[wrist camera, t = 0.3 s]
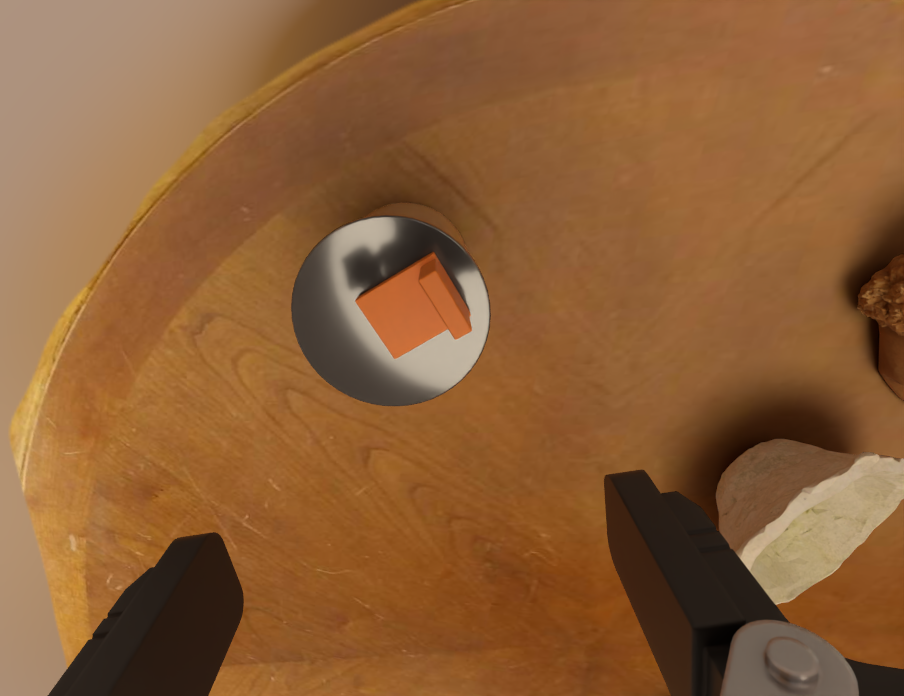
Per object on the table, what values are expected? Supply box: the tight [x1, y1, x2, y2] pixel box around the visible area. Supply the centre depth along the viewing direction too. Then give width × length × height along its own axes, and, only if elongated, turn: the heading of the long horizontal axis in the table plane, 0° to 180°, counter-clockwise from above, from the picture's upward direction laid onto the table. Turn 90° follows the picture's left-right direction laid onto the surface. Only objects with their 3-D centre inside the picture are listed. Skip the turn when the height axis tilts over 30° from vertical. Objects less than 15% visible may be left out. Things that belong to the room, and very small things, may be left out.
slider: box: [355, 252, 472, 359], centre depth 21 cm, size 4×3×3 cm
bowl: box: [716, 439, 904, 604], centre depth 36 cm, size 15×14×10 cm
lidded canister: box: [291, 202, 491, 406], centre depth 28 cm, size 9×9×12 cm
